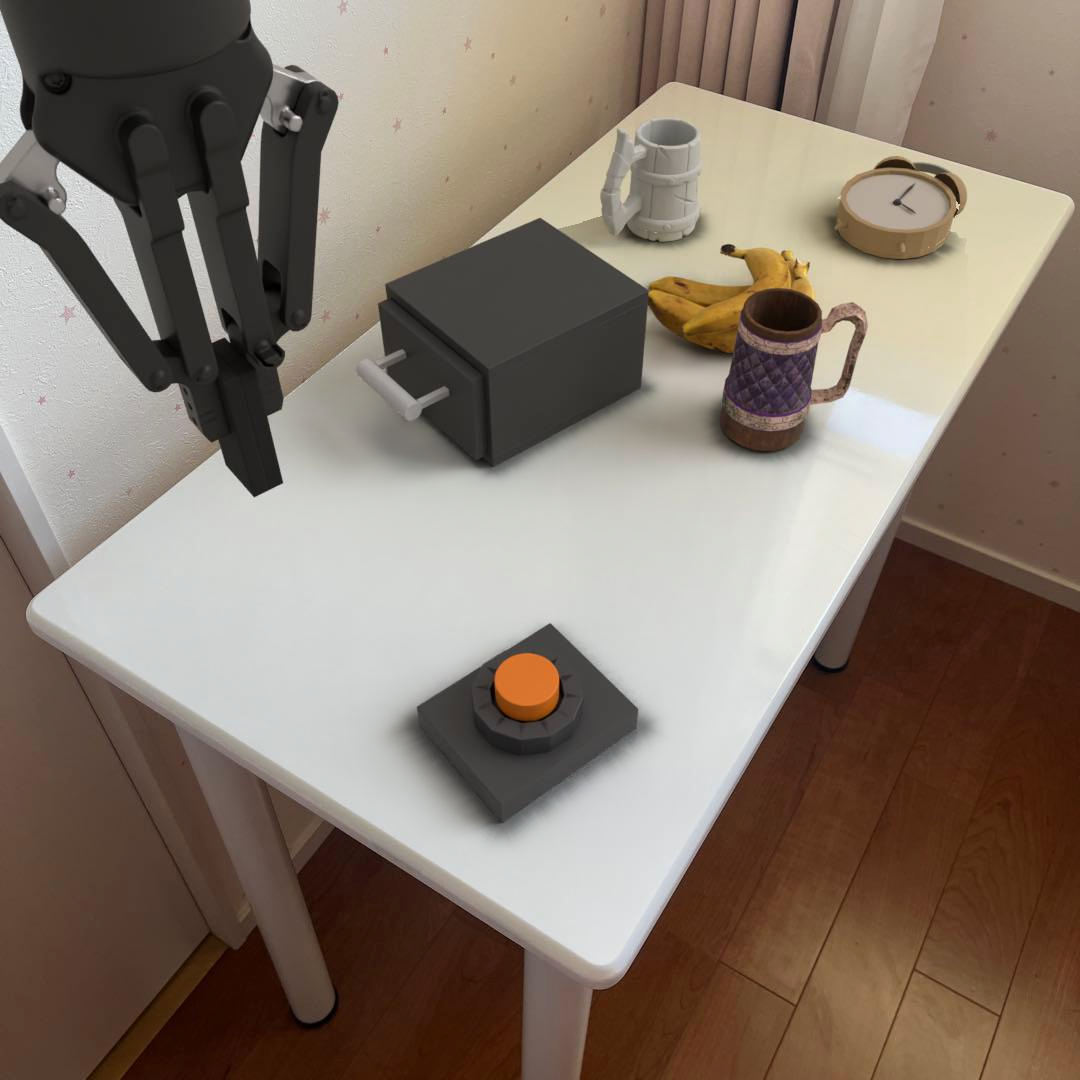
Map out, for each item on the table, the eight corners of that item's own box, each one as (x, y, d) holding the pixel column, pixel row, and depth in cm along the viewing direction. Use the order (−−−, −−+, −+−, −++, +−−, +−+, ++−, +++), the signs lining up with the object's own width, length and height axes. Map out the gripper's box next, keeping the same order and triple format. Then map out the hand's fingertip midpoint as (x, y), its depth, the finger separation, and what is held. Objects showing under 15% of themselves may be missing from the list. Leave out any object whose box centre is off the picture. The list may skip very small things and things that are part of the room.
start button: (521, 733, 67) (520, 717, 66) (482, 690, 70) (481, 674, 68) (571, 699, 69) (572, 682, 68) (532, 659, 71) (532, 642, 70)
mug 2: (719, 452, 90) (739, 332, 81) (716, 396, 95) (734, 276, 86) (847, 458, 89) (880, 337, 80) (837, 401, 94) (867, 281, 85)
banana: (844, 289, 105) (856, 236, 101) (755, 396, 95) (765, 342, 90) (702, 240, 111) (708, 188, 107) (603, 336, 100) (606, 283, 96)
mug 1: (714, 226, 113) (728, 113, 104) (626, 266, 108) (633, 152, 99) (664, 195, 117) (673, 84, 108) (577, 233, 112) (579, 120, 103)
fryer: (493, 467, 89) (488, 368, 81) (396, 381, 96) (384, 283, 89) (641, 387, 95) (649, 290, 88) (540, 313, 103) (540, 217, 96)
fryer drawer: (431, 484, 86) (423, 405, 80) (344, 401, 93) (331, 323, 87) (615, 387, 94) (620, 308, 88) (523, 317, 101) (521, 240, 95)
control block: (502, 823, 67) (500, 789, 64) (419, 725, 72) (413, 690, 69) (636, 728, 72) (640, 692, 69) (550, 642, 77) (550, 605, 74)
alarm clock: (818, 210, 109) (891, 128, 115) (813, 248, 113) (885, 167, 119) (923, 248, 105) (994, 161, 111) (915, 287, 109) (984, 201, 115)
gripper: (-82, -6, 28) (157, 591, 45) (354, -113, 34) (419, 456, 51) (-165, -85, 32) (84, 491, 49) (237, -169, 38) (334, 376, 55)
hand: (254, 473), depth 50 cm, fingers closed
